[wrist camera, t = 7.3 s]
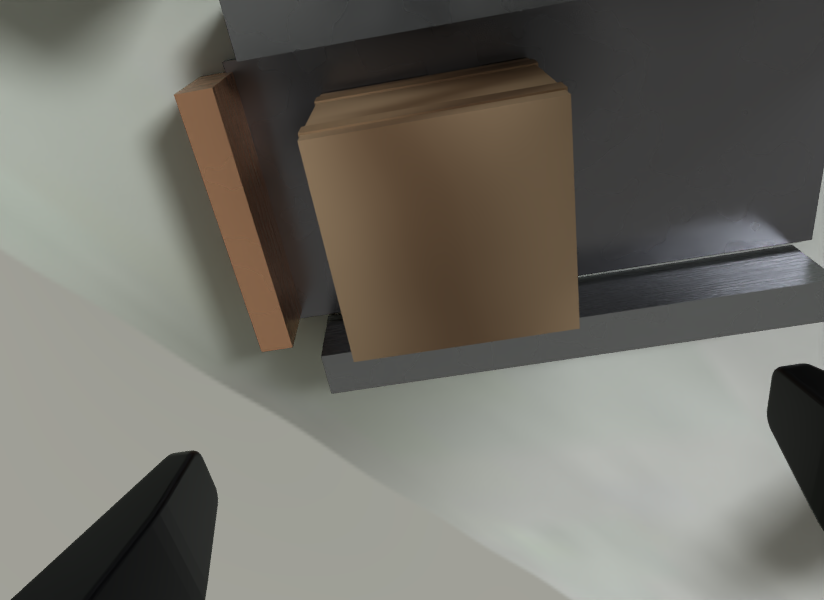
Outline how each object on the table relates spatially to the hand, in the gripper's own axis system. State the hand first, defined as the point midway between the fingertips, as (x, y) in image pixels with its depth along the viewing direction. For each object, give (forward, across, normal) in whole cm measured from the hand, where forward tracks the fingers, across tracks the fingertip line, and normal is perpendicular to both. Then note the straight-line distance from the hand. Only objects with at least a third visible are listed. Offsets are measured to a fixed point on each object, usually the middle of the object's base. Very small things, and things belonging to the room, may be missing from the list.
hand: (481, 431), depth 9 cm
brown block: (+12, 0, 0) cm, 12 cm away
